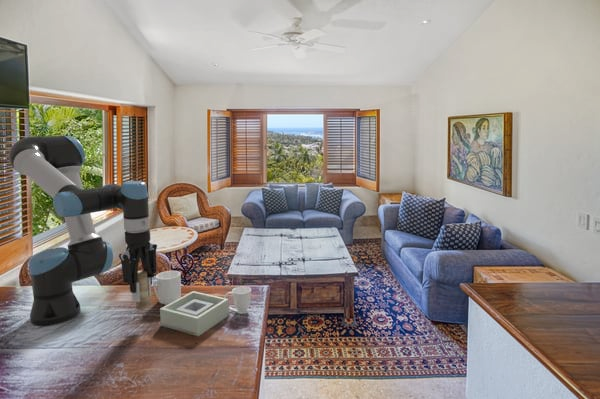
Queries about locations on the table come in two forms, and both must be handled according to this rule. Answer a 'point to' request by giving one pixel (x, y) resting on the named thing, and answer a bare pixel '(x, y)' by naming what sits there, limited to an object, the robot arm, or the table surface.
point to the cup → (241, 299)
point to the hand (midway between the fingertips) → (142, 297)
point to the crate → (194, 313)
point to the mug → (168, 286)
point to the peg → (143, 290)
